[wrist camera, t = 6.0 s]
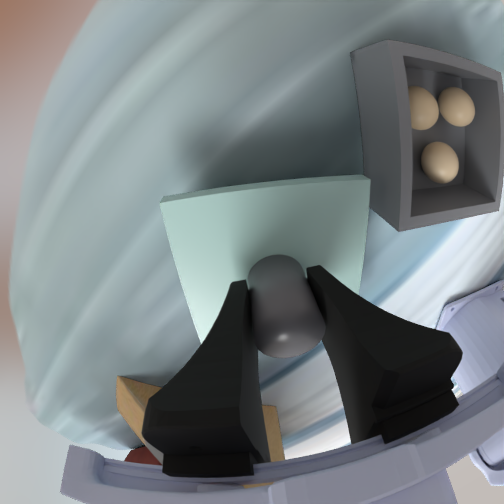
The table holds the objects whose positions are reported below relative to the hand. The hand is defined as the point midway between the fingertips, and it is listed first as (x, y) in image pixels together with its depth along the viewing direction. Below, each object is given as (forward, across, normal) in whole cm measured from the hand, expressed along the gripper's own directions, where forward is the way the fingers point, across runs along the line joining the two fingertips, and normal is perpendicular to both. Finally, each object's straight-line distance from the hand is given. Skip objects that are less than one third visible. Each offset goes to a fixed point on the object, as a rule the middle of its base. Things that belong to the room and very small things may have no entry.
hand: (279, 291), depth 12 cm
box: (+3, -10, -6) cm, 12 cm away
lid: (+2, 0, 0) cm, 2 cm away
